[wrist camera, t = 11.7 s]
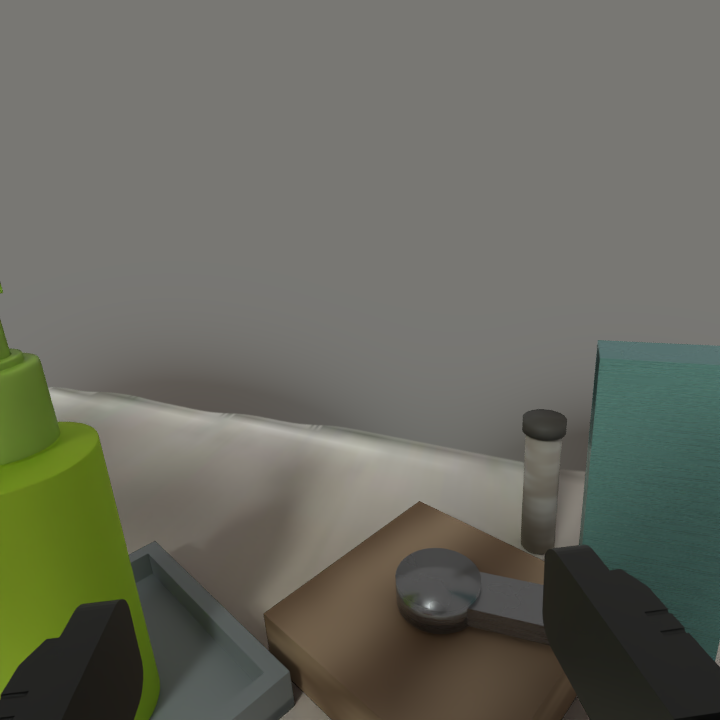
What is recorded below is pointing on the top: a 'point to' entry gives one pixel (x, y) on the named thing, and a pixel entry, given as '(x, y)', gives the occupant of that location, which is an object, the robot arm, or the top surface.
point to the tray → (204, 649)
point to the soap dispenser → (56, 524)
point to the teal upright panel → (615, 503)
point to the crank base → (419, 648)
